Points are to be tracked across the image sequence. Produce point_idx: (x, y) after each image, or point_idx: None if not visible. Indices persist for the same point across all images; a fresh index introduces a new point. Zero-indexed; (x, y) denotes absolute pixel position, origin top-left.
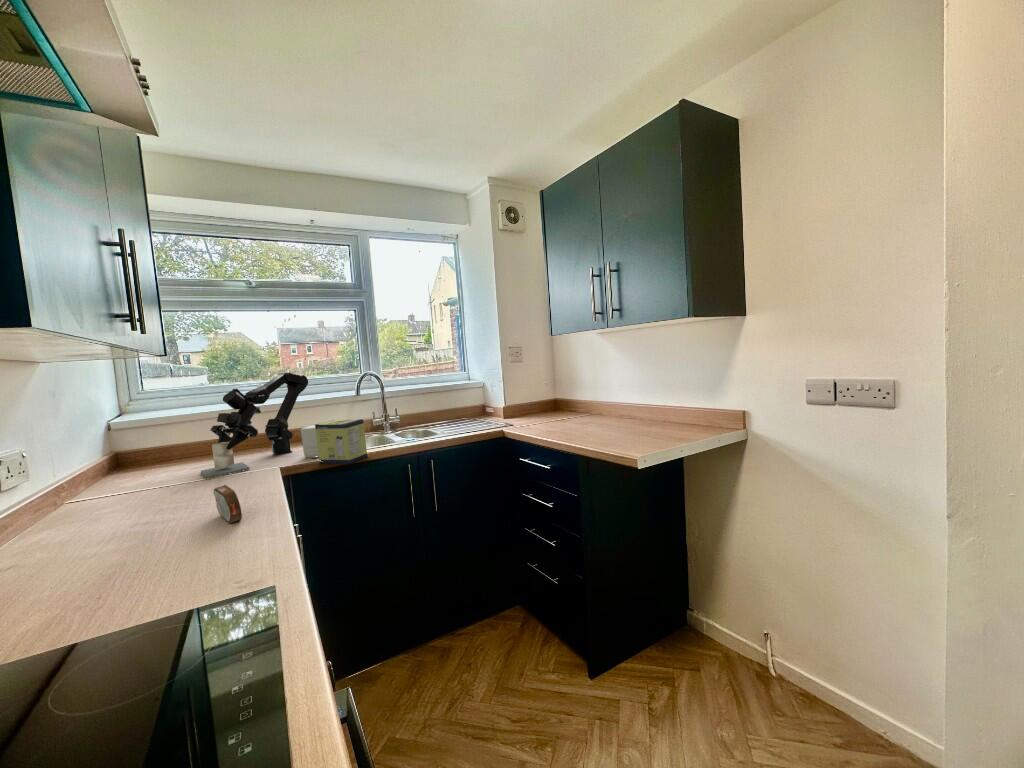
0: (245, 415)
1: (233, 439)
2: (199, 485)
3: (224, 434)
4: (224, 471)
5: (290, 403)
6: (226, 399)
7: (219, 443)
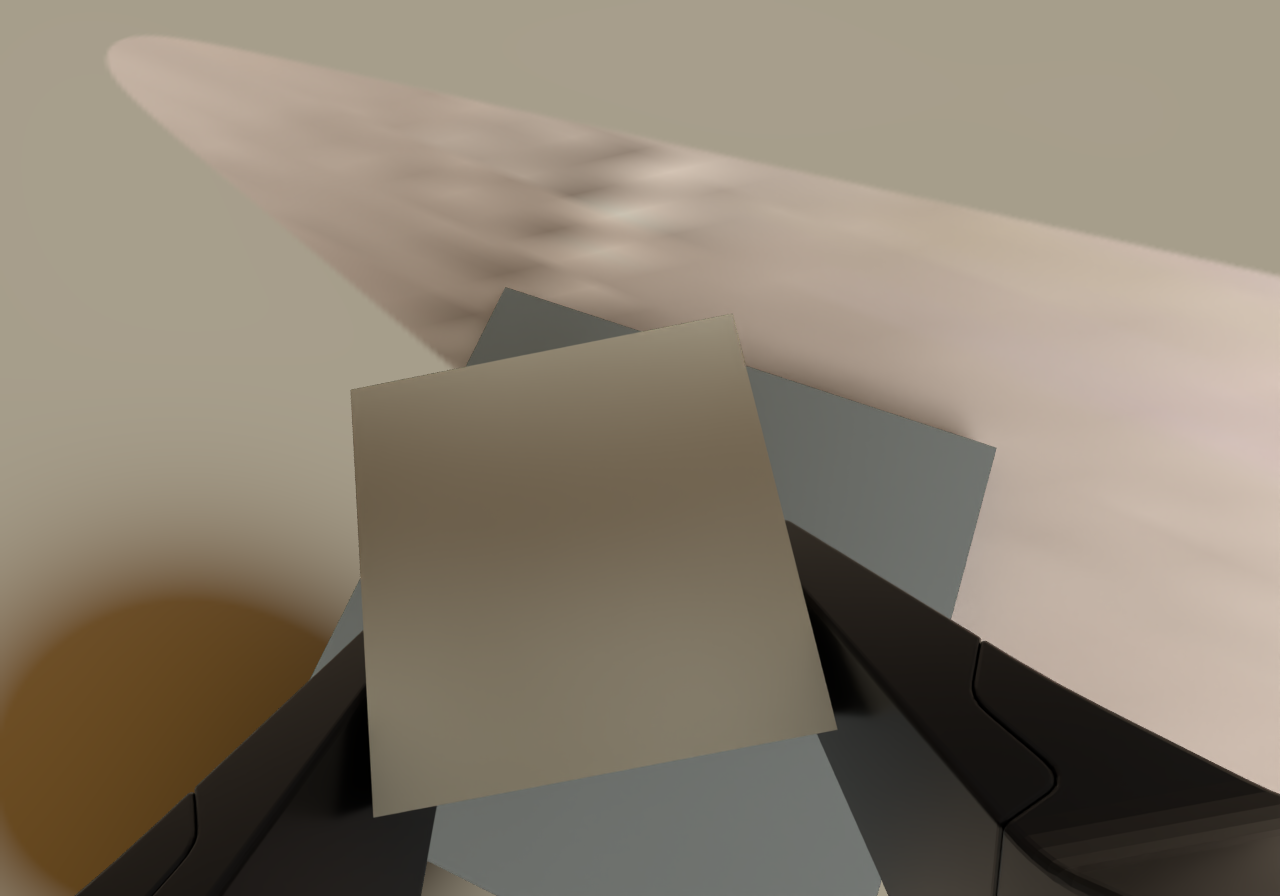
0: None
1: (147, 856)
2: (332, 164)
3: None
4: None
5: None
6: None
7: (668, 522)
